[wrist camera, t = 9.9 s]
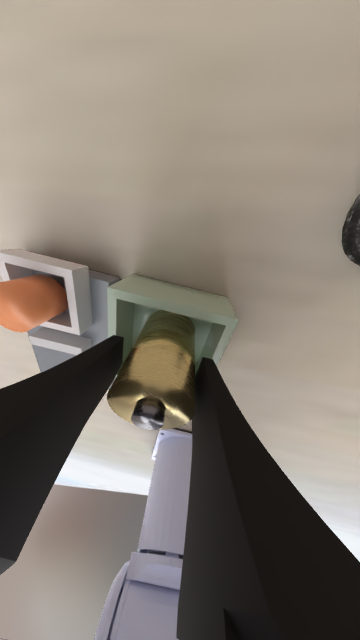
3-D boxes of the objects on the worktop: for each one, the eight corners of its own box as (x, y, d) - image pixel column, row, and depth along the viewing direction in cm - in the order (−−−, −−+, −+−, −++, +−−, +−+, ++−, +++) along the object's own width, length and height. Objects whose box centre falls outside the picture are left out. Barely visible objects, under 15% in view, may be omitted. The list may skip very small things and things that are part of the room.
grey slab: (116, 382, 17) (102, 408, 14) (55, 367, 17) (29, 390, 14) (119, 267, 11) (95, 276, 8) (23, 243, 11) (-32, 244, 8)
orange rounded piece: (71, 317, 10) (38, 337, 8) (34, 308, 10) (-9, 325, 8) (65, 280, 9) (25, 292, 7) (23, 269, 9) (-30, 278, 7)
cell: (185, 356, 13) (177, 450, 8) (141, 342, 13) (98, 430, 7) (202, 319, 11) (211, 410, 5) (150, 301, 11) (102, 379, 5)
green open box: (200, 365, 14) (200, 400, 11) (128, 348, 14) (108, 377, 11) (227, 297, 11) (238, 320, 8) (133, 273, 11) (107, 287, 8)
